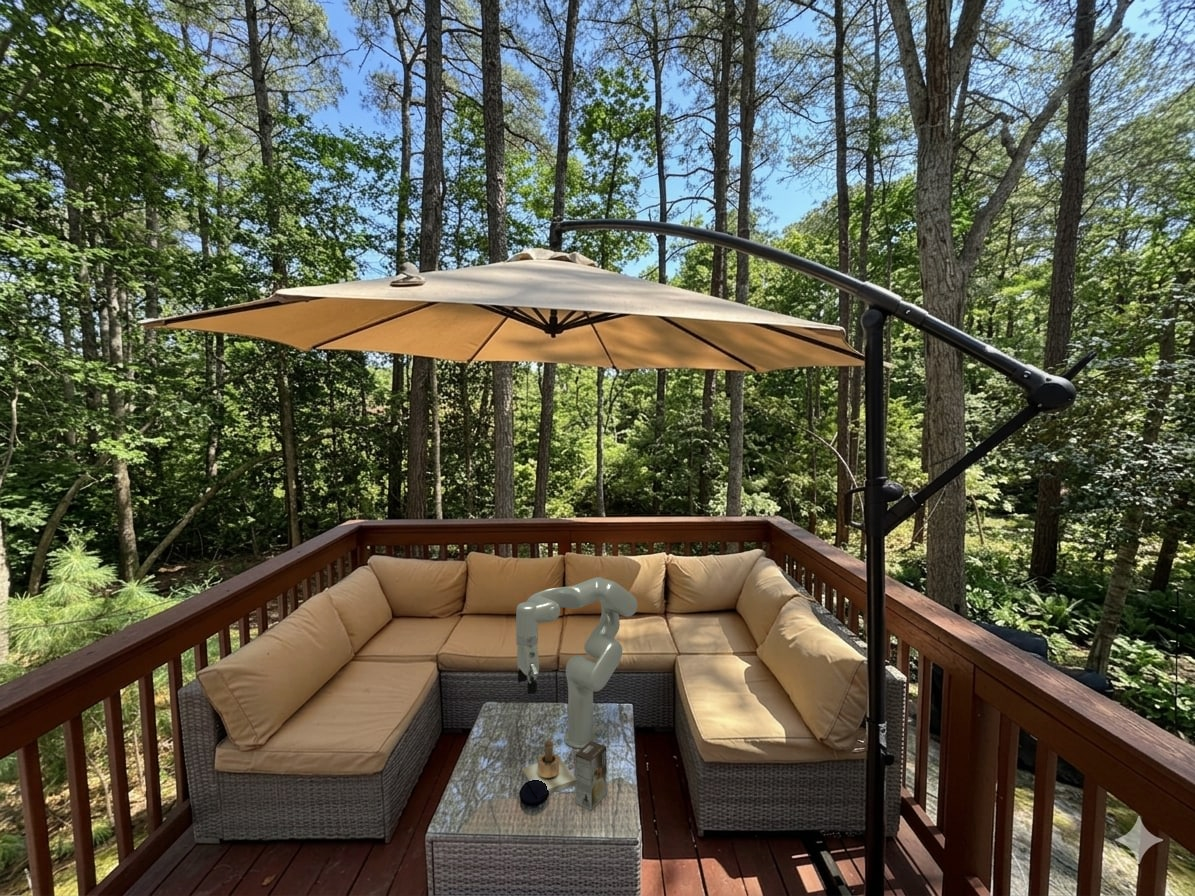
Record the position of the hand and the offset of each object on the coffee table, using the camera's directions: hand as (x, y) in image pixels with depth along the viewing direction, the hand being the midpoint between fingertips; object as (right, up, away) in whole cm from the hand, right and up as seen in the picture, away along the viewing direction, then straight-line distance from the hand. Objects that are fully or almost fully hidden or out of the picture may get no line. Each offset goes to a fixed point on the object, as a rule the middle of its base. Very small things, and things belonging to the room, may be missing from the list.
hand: (527, 687), depth 182 cm
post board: (+8, -29, -6) cm, 30 cm away
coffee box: (+23, -29, -16) cm, 40 cm away
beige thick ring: (+8, -26, -6) cm, 27 cm away
